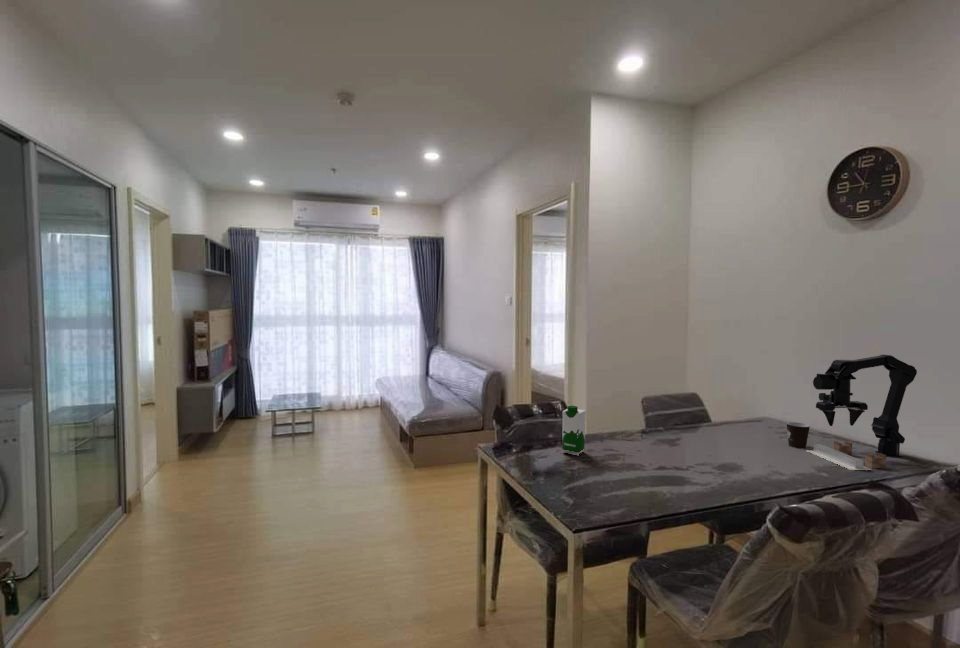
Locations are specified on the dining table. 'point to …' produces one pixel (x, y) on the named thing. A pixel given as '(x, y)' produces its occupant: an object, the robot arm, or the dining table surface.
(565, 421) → the milk carton
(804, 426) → the coffee mug
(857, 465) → the rail
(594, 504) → the dining table surface
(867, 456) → the post
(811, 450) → the mat
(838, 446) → the post
